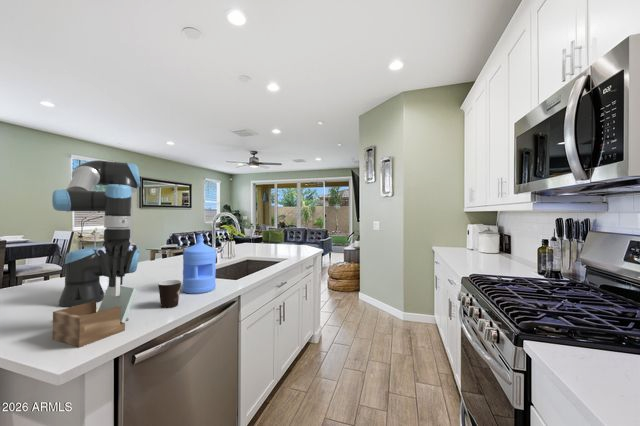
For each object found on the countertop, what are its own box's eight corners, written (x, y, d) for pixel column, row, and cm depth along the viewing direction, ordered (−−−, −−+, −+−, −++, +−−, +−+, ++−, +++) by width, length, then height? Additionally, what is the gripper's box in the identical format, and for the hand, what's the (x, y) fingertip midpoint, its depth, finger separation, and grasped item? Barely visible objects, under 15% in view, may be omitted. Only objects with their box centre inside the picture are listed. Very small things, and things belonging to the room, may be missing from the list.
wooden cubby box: (52, 338, 86) (52, 311, 86) (98, 323, 98) (99, 299, 98) (79, 347, 81) (79, 318, 81) (124, 330, 93) (125, 305, 93)
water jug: (189, 286, 149) (189, 234, 149) (218, 285, 151) (219, 234, 151) (177, 294, 134) (178, 237, 134) (210, 294, 135) (211, 237, 135)
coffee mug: (170, 310, 113) (171, 285, 113) (152, 308, 114) (153, 284, 114) (189, 301, 124) (190, 279, 124) (173, 299, 126) (173, 277, 126)
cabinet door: (121, 321, 92) (133, 288, 96) (96, 315, 97) (108, 284, 101) (128, 321, 94) (140, 289, 98) (103, 315, 99) (115, 284, 103)
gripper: (104, 229, 90) (101, 302, 89) (142, 228, 102) (140, 292, 101) (90, 228, 92) (87, 298, 92) (129, 227, 104) (127, 289, 104)
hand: (115, 295), depth 97 cm, fingers closed
